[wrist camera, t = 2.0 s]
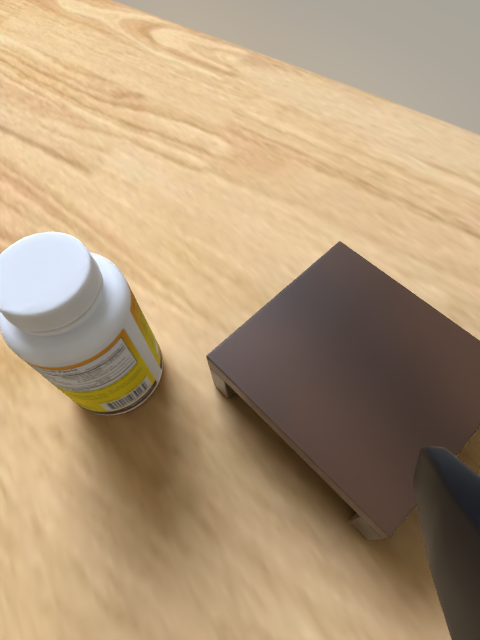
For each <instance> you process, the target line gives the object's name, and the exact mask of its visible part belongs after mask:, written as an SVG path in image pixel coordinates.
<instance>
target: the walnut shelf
mask: <svg viewBox="0 0 480 640" xmlns="http://www.w3.org/2000/svg"><path fill="white" fill-rule="evenodd" d="M206 357H207V361H208V364H209V367H210V370H211V374H212V378H213V381H214V385H215V386H216V387H217V388H218V389H219V390H220V391H221V392H222V393H223V394H224V395H225V396H226V397H227V398H229V397H230V396H231V395H232V394H234V393H235V392H236V393H237V394H238V395H239V396H240V397H241V398H242V399H243V400H244V401H245V402H246V403H247V404H248V405H249V406H250V407H251V408H252V409H253V410H254V411H255V412H256V413H257V414H258V415H259V416H260V417H261V418H262V419H263V420H264V421H265V422H266V423H267V424H268V425H269V426H270V427H271V428H272V429H273V430H274V431H275V432H276V433H277V434H278V435H279V436H280V437H281V438H282V439H283V440H284V441H285V442H286V443H287V444H288V445H289V446H290V447H291V448H292V449H293V450H294V451H295V452H296V453H297V454H298V455H299V456H300V457H301V458H302V459H303V460H304V461H305V462H306V463H307V464H308V465H309V466H310V467H311V468H312V469H313V470H314V471H315V472H316V473H317V474H318V475H319V476H320V477H321V478H322V479H323V480H324V481H325V482H326V483H327V484H328V485H329V486H330V487H331V488H332V489H333V490H334V491H335V492H336V493H337V494H338V495H339V496H340V497H341V498H342V499H343V500H344V501H345V502H346V503H347V504H348V505H349V506H350V507H351V508H352V509H353V510H354V511H355V512H356V514H355V515H354V516H353V517H352V518H351V520H350V521H349V522H350V523H351V524H352V525H353V526H354V527H355V528H356V529H357V530H358V531H359V532H360V533H361V534H362V535H363V536H364V537H365V538H366V539H367V540H368V541H371V540H377V539H382V538H389V537H391V536H392V534H393V533H394V532H395V531H396V529H397V528H398V527H399V526H400V525H401V523H402V522H403V521H404V520H405V518H406V517H407V516H408V515H409V513H410V512H411V511H412V510H413V508H414V507H415V506H416V505H417V503H416V498H415V493H414V487H413V477H414V473H415V469H416V465H417V461H418V457H419V453H420V450H421V448H422V447H424V446H440V447H445V448H446V449H448V450H449V451H450V452H452V453H453V454H454V455H455V456H456V455H457V454H458V452H459V451H460V450H461V449H462V447H463V446H464V445H465V444H466V442H467V441H468V440H469V439H470V437H471V436H472V435H473V434H474V432H475V431H476V430H477V429H478V427H479V426H480V341H479V340H478V339H477V338H475V337H474V336H472V335H471V334H470V333H468V332H467V331H465V330H464V329H463V328H461V327H460V326H458V325H457V324H456V323H454V322H453V321H451V320H450V319H449V318H447V317H446V316H444V315H443V314H442V313H440V312H439V311H437V310H436V309H435V308H433V307H432V306H430V305H429V304H427V303H426V302H425V301H423V300H422V299H420V298H419V297H418V296H416V295H415V294H413V293H412V292H411V291H409V290H408V289H406V288H405V287H404V286H402V285H401V284H399V283H398V282H397V281H395V280H394V279H392V278H391V277H390V276H388V275H387V274H385V273H384V272H383V271H381V270H380V269H378V268H377V267H376V266H374V265H373V264H371V263H370V262H369V261H367V260H366V259H364V258H363V257H361V256H360V255H359V254H357V253H356V252H354V251H353V250H352V249H350V248H349V247H347V246H346V245H345V244H343V243H342V242H340V241H339V242H338V243H337V244H336V245H335V246H333V247H332V248H331V249H330V250H329V251H328V252H326V253H325V254H324V255H323V256H322V257H321V258H319V259H318V260H317V261H316V262H315V263H314V264H312V265H311V266H310V267H309V268H308V269H307V270H306V271H304V272H303V273H302V274H301V275H300V276H299V277H297V278H296V279H295V280H294V281H293V282H292V283H290V284H289V285H288V286H287V287H286V288H285V289H283V290H282V291H281V292H280V293H279V294H278V295H276V296H275V297H274V298H273V299H272V300H271V301H270V302H268V303H267V304H266V305H265V306H264V307H263V308H261V309H260V310H259V311H258V312H257V313H256V314H254V315H253V316H252V317H251V318H250V319H249V320H247V321H246V322H245V323H244V324H243V325H242V326H241V327H239V328H238V329H237V330H236V331H235V332H234V333H232V334H231V335H230V336H229V337H228V338H227V339H225V340H224V341H223V342H222V343H221V344H220V345H218V346H217V347H216V348H215V349H214V350H213V351H212V352H210V353H209V354H208V355H207V356H206Z"/></svg>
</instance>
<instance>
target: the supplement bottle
mask: <svg viewBox="0 0 480 640" xmlns="http://www.w3.org/2000/svg"><path fill="white" fill-rule="evenodd" d="M0 331H1V334H2V336H3V339H4V340H5V342H6V343H7V345H8V346H9V348H10V349H11V350H12V351H13V352H14V353H15V354H17V355H18V356H19V357H20V358H21V359H22V360H24V361H25V362H26V363H28V364H29V365H30V366H31V367H33V368H34V369H35V370H36V371H37V372H39V373H40V374H41V375H42V376H44V377H45V378H46V379H47V380H48V381H50V382H51V383H52V384H53V385H55V386H56V387H57V388H58V389H59V390H61V391H62V392H63V393H65V394H66V395H67V396H68V397H69V398H71V399H72V400H73V401H74V402H75V403H77V404H78V405H79V406H80V407H82V408H84V409H85V410H87V411H89V412H92V413H95V414H99V415H118V414H122V413H125V412H128V411H131V410H133V409H135V408H136V407H138V406H139V405H141V404H142V403H143V402H145V401H146V400H147V399H148V398H149V397H150V396H151V394H152V393H153V392H154V390H155V389H156V387H157V385H158V383H159V381H160V378H161V375H162V369H163V358H162V353H161V350H160V348H159V345H158V343H157V341H156V339H155V337H154V335H153V333H152V331H151V329H150V327H149V325H148V323H147V321H146V319H145V317H144V315H143V313H142V311H141V309H140V307H139V305H138V303H137V301H136V299H135V297H134V295H133V293H132V291H131V289H130V287H129V285H128V283H127V281H126V279H125V277H124V275H123V274H122V272H121V271H120V270H119V269H118V267H116V266H115V265H114V264H113V263H112V262H111V261H109V260H108V259H106V258H104V257H102V256H100V255H98V254H95V253H91V252H89V251H88V249H87V248H86V247H85V245H84V244H83V243H82V242H80V241H79V240H78V239H76V238H75V237H73V236H71V235H68V234H64V233H60V232H43V233H37V234H33V235H30V236H27V237H25V238H23V239H21V240H19V241H17V242H15V243H14V244H12V245H11V246H9V247H8V248H7V249H6V250H4V251H3V252H2V253H1V255H0Z"/></svg>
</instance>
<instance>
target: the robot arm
mask: <svg viewBox="0 0 480 640" xmlns="http://www.w3.org/2000/svg"><path fill="white" fill-rule="evenodd" d="M413 487H414V493H415V498H416V503H417V508H418V513H419V518H420V523H421V528H422V533H423V538H424V543H425V548H426V554H427V558H428V563H429V567H430V571H431V574H432V578H433V581H434V585H435V588H436V591H437V594H438V597H439V601H440V604H441V607H442V610H443V613H444V616H445V620H446V623H447V626H448V629H449V632H450V636H451V639H452V640H480V476H479V475H477V474H476V473H475V472H474V471H473V470H471V469H470V468H469V467H468V466H467V465H466V464H464V463H463V462H462V461H461V460H460V459H459V458H457V457H456V456H455V455H454V454H453V453H452V452H450V451H449V450H448V449H446V448H445V447H440V446H424V447H422V448H421V450H420V453H419V457H418V461H417V465H416V469H415V473H414V477H413Z"/></svg>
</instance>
